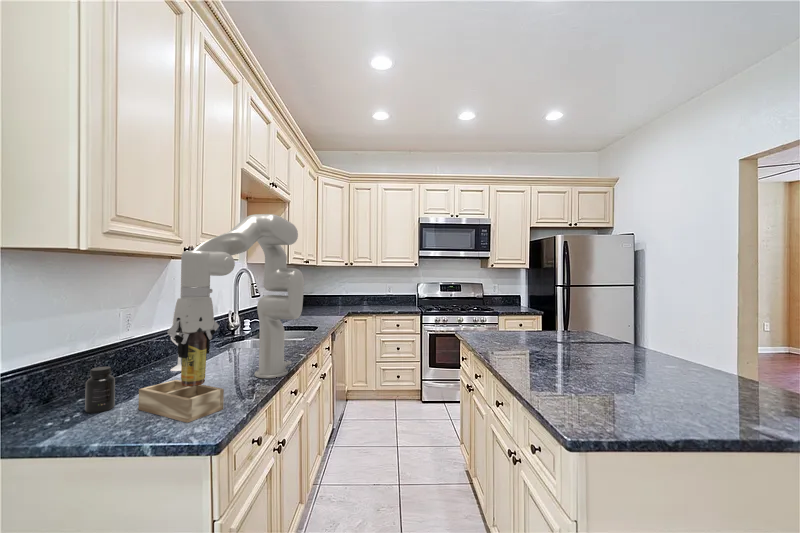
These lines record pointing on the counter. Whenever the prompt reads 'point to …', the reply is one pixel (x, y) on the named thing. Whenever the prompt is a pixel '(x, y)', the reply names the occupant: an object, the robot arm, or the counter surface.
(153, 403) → the rail
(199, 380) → the sauce bottle
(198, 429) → the counter surface
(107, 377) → the supplement bottle
